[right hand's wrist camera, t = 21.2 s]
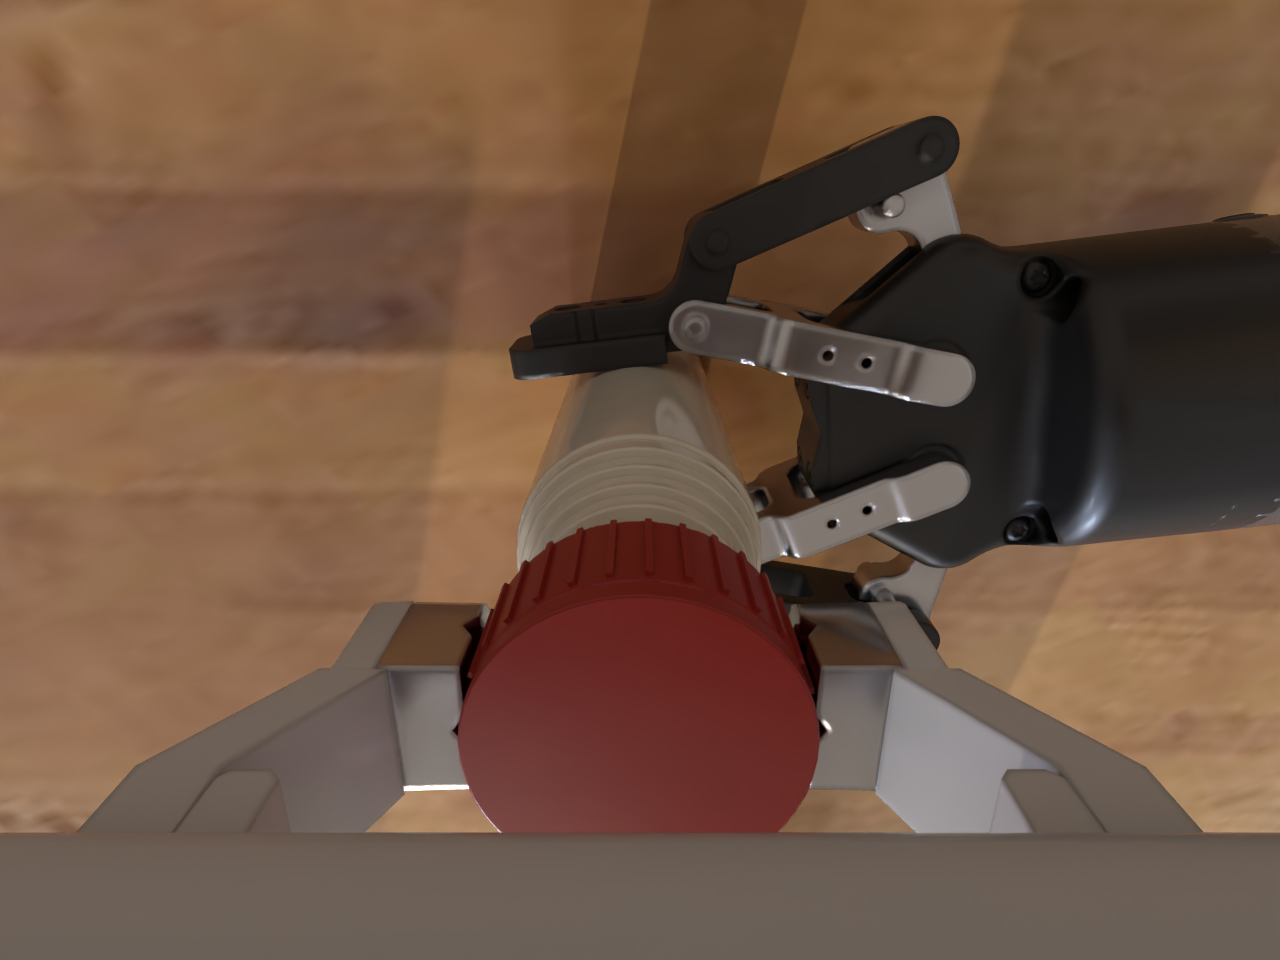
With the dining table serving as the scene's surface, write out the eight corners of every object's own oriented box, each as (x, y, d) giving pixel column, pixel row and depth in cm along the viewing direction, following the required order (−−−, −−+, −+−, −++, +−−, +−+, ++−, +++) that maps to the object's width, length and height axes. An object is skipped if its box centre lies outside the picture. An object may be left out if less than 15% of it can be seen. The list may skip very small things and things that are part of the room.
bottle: (648, 288, 24) (666, 480, 8) (729, 390, 25) (888, 734, 9) (548, 373, 25) (383, 695, 9) (631, 466, 26) (617, 898, 10)
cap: (838, 708, 10) (879, 816, 9) (576, 812, 11) (565, 931, 9) (715, 460, 9) (733, 526, 7) (426, 594, 10) (377, 685, 8)
